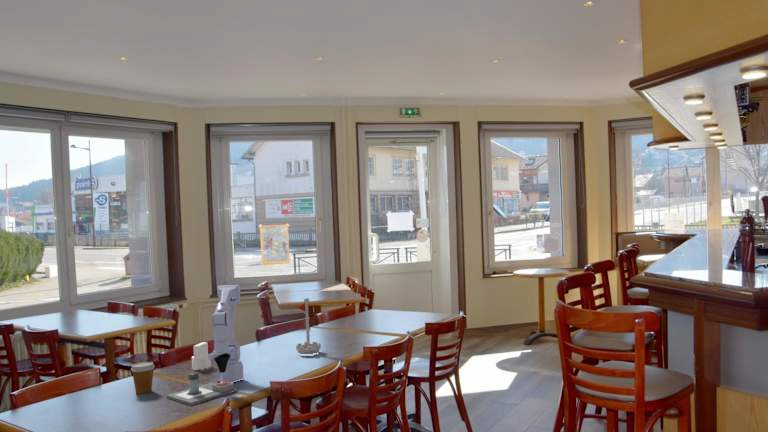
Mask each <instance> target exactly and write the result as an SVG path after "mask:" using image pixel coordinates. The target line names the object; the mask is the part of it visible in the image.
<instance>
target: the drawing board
mask: <svg viewBox="0 0 768 432" xmlns="http://www.w3.org/2000/svg"><path fill="white" fill-rule="evenodd" d="M224 382H226V381H224ZM217 383H218V382H214V381H211V382H208V383H205V384H201V385H200V384H199V393H198V394H189V388H187V389H183V390H181V391H176V392H173V393H169V394H167V395H166V398H167V399H168V400H172V401H174V400H175V402H178V403H181V404H185V405H187V406H190V407H191V406H195V405H197V403H198V404H201V403H204V402H207V401H206V400H208V401H210V400H209V399H211V400H213V399H212V398H214V399H216V398H215V397H217V398H220V397H223V396H222V395H224V396H226V395H225V394H227V393H230V392H232V391H235V390H237V389H238V388H236V387H235V383H230V382H228V383H230V384H229V385H225V386H222V387H221V386H217V385H216V384H217ZM237 391H238V390H237ZM230 394H231V393H230ZM227 395H228V394H227ZM219 396H220V397H219ZM203 401H204V402H203ZM200 402H201V403H200Z"/></svg>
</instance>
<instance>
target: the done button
mask: <svg viewBox="0 0 768 432" xmlns="http://www.w3.org/2000/svg"><path fill="white" fill-rule="evenodd" d="M216 383H217V384H216V385H217V386H221V387H222V386H225V385H229V384H230V383H228V382H220V383H218V382H216Z"/></svg>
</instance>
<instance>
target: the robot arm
mask: <svg viewBox="0 0 768 432" xmlns="http://www.w3.org/2000/svg"><path fill="white" fill-rule="evenodd" d="M216 293H217V298H218V303H217V304H216V307H215V311H214V312H213V313H212V314H211V324H212V331H213V341H214V342H213V344H214V350H212V352H210V353H208V359H211V360H214V362H215V363H216V365H217V368H218V370H219V373H220V379H221V381H222V382H224V381H226V382H233V381H236V380H239V379H242V378H243V379H244V365H243V363H242V361H241V360H240V359H241V346H240V343H239V342H238V341H237V340H235V319H236V318H235V317H236V307H237V305H239V304H240V301H241V286H240V284H239V283H237V284H224V285H223V284H222V285H221V284H219V285H218V286H217V292H216Z"/></svg>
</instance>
